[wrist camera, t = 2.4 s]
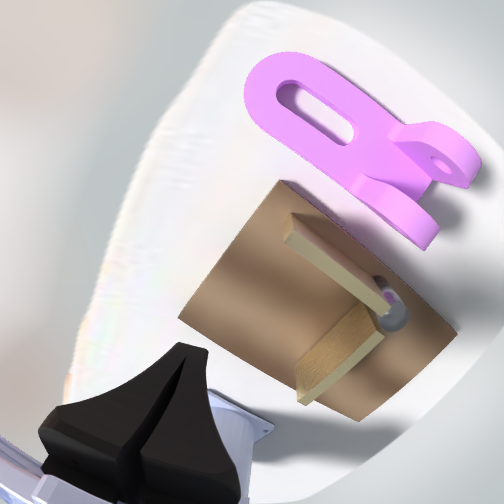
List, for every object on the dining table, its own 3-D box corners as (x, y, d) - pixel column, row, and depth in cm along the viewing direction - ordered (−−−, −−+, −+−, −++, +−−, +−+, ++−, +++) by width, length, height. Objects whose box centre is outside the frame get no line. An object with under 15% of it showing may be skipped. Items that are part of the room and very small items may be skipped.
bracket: (433, 162, 18) (493, 172, 11) (389, 225, 19) (434, 260, 13) (278, 43, 16) (277, -6, 10) (229, 109, 18) (203, 88, 11)
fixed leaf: (375, 303, 20) (393, 337, 16) (277, 228, 19) (277, 249, 15) (392, 285, 19) (415, 315, 15) (295, 205, 18) (300, 221, 14)
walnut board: (357, 414, 25) (358, 422, 24) (181, 311, 23) (177, 317, 22) (452, 328, 21) (457, 334, 20) (279, 179, 19) (279, 181, 18)
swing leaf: (295, 364, 22) (297, 401, 18) (361, 298, 20) (376, 330, 16) (303, 368, 22) (306, 406, 18) (368, 304, 20) (385, 336, 16)
